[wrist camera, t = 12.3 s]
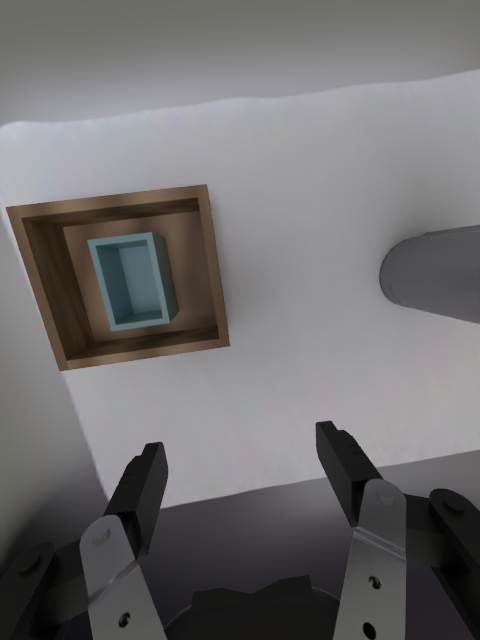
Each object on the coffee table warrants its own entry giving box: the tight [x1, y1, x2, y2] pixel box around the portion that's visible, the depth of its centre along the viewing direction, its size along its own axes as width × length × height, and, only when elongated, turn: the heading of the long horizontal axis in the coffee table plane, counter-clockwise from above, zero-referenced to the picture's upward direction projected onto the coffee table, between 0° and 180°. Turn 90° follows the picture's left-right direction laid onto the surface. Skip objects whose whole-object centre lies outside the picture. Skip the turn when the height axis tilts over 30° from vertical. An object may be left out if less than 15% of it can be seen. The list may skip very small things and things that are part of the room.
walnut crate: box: [6, 184, 230, 371], centre depth 27 cm, size 18×16×7 cm
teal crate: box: [87, 232, 179, 331], centre depth 27 cm, size 6×9×6 cm, turn 7°
